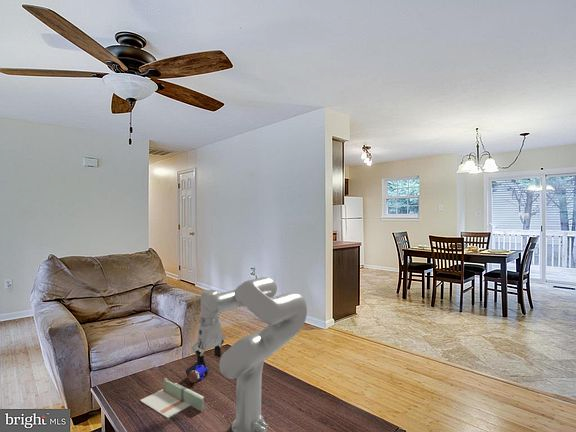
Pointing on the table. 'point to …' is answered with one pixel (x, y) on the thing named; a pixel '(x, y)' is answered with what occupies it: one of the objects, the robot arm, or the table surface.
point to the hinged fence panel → (193, 399)
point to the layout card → (166, 402)
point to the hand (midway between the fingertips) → (209, 360)
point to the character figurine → (197, 372)
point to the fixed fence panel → (172, 388)
